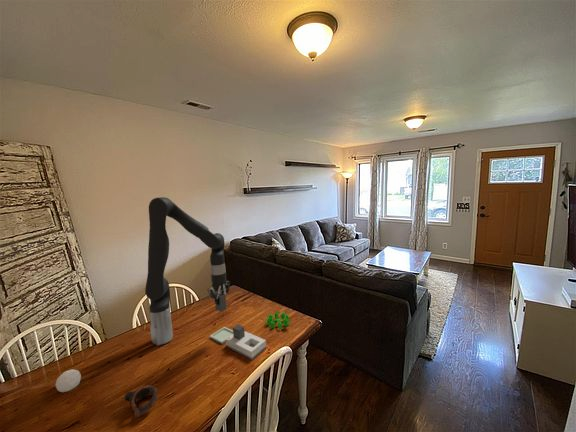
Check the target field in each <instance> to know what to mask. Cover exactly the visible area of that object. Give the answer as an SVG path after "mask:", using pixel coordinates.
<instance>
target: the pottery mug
mask: <svg viewBox="0 0 576 432" xmlns="http://www.w3.org/2000/svg"><path fill="white" fill-rule="evenodd" d="M157 391H158V389H157V387H153V386H152V385H145V386H142V387H140V388H137V390H136V391H127V392H126V393H125V394H124V400H125V401H126V402H128V403H130V406H131V408H132V409H131V410H133V412H134V414H133V415H134V417H136V418H139V417H140V416H142V415H144V414H145V413H147V412H149V410H150V409H151V408H153V406H154V405H155V403H156V401H157V400H158V398H159V396H158V394H157ZM149 395H152V396H151V399H150V400H149V401H148V402H147V403H146V404H144V405H140V406H138V407H137V404H136V402H137V400H138V402H139V401H141V400H143V398H144V397H147V396H149Z"/></svg>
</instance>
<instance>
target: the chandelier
mask: <svg viewBox="0 0 576 432" xmlns="http://www.w3.org/2000/svg"><path fill="white" fill-rule="evenodd" d="M279 314H281V315H280V318H279ZM291 319H292V318H291V316H290V315H289V314H286V312H284V311H283V312H282V313H280V311H278V310H277V311H274V315H273V314H272V313H270V314H268V315H267V316H266V319H265V322H264V323H265V325H266V326H269V327H270V329H271V330H273V329H275V327H276V322H277V328H278V329H279V330H282V328H283V326H285V327H288V326H289V324H290V321H291Z"/></svg>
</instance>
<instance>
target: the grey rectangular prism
mask: <svg viewBox="0 0 576 432" xmlns="http://www.w3.org/2000/svg"><path fill="white" fill-rule="evenodd" d="M226 295H227V294H226ZM226 295H225V294H222V293H221V292H220V294H219V305H216V304H215V303H214V306H215V310H216V311H218V312H220V313H222V312H224V311H225V310H227V309H228V308H227V296H226ZM216 296H217V295H216Z"/></svg>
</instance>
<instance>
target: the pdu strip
mask: <svg viewBox="0 0 576 432" xmlns="http://www.w3.org/2000/svg"><path fill="white" fill-rule="evenodd" d="M232 330H233V334H232V335H231V336H229V337H228V338H226V342H225V347H227V348H229V349H231V350H232V351H234V352H236V353H238V354H240V355H242V356H243V357H245V358H247V359H250V360H251V361H252V360H254V359H255V358H256V357H258V355H260V354H261V353H262V352H263V351H265V350H266V349H267V340H266V339H264V338H262V337H259V336H257V335H255V334H252V333H250V332H247V331H245V327H244V326H243V325H240V324H236V325H235V326H233V327H232Z"/></svg>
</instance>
